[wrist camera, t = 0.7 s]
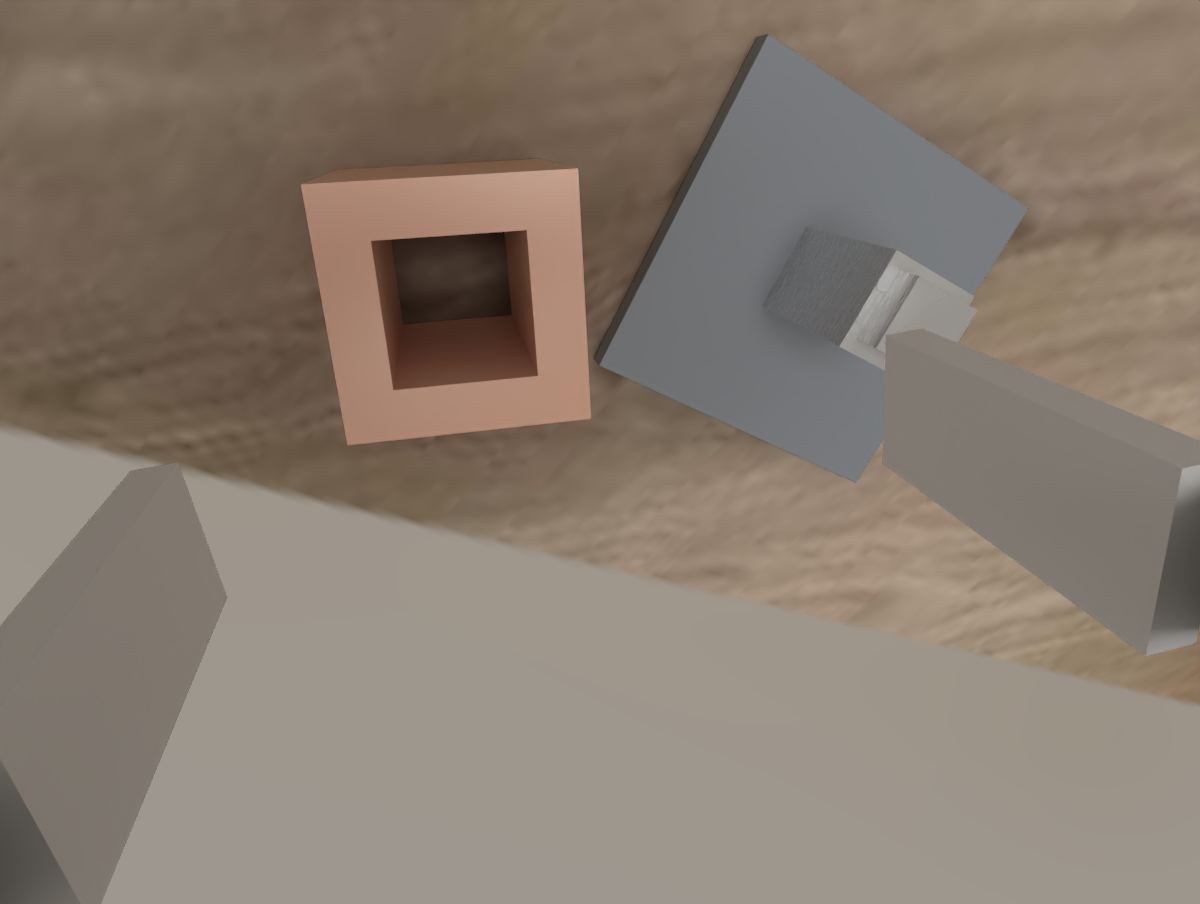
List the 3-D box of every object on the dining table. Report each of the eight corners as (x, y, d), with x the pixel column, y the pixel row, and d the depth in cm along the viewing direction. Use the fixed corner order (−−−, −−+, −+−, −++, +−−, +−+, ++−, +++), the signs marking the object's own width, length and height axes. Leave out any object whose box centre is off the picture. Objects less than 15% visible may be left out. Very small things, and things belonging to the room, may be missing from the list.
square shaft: (762, 305, 34) (856, 355, 26) (805, 226, 33) (916, 254, 25) (828, 340, 35) (936, 397, 27) (872, 265, 34) (996, 303, 26)
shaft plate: (593, 358, 34) (599, 365, 33) (756, 37, 31) (768, 33, 30) (844, 473, 39) (855, 482, 38) (1010, 205, 35) (1028, 208, 34)
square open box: (368, 366, 33) (347, 445, 24) (337, 169, 30) (300, 184, 21) (552, 348, 34) (591, 419, 26) (539, 158, 31) (578, 168, 23)
